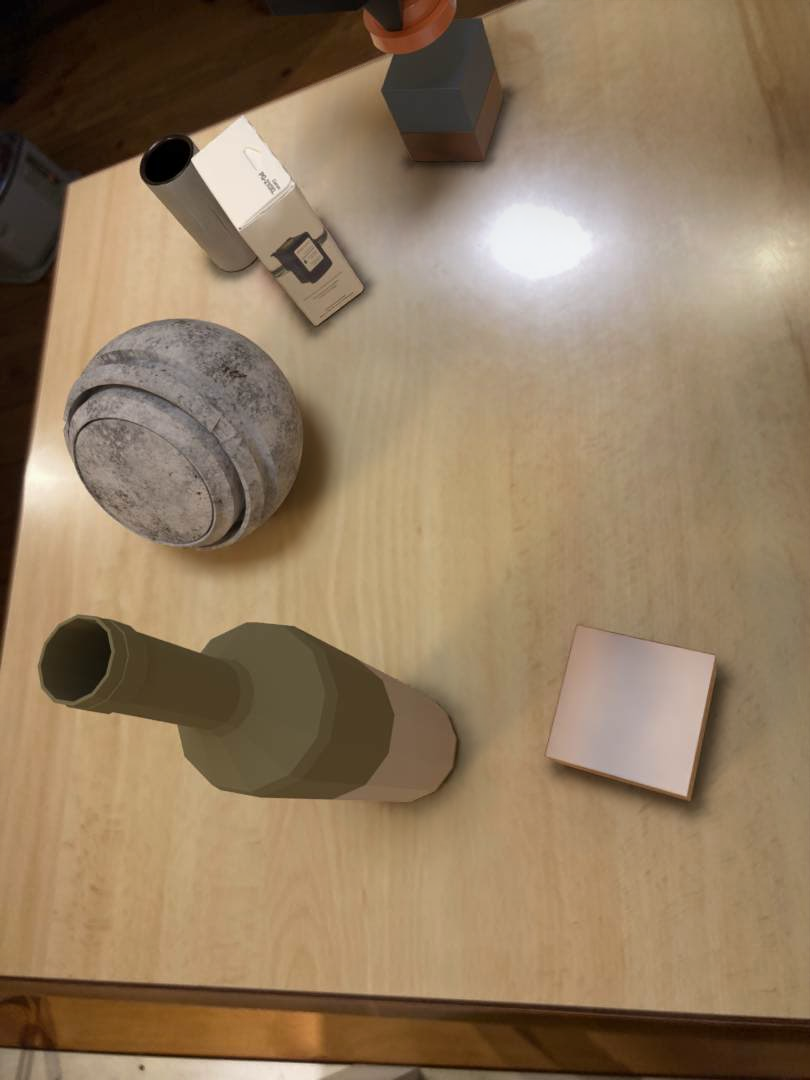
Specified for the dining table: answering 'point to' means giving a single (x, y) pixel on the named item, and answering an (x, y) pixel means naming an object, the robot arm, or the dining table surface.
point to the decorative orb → (185, 433)
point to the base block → (459, 133)
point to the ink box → (276, 220)
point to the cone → (413, 26)
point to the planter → (193, 201)
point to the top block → (441, 81)
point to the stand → (633, 710)
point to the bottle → (260, 709)
